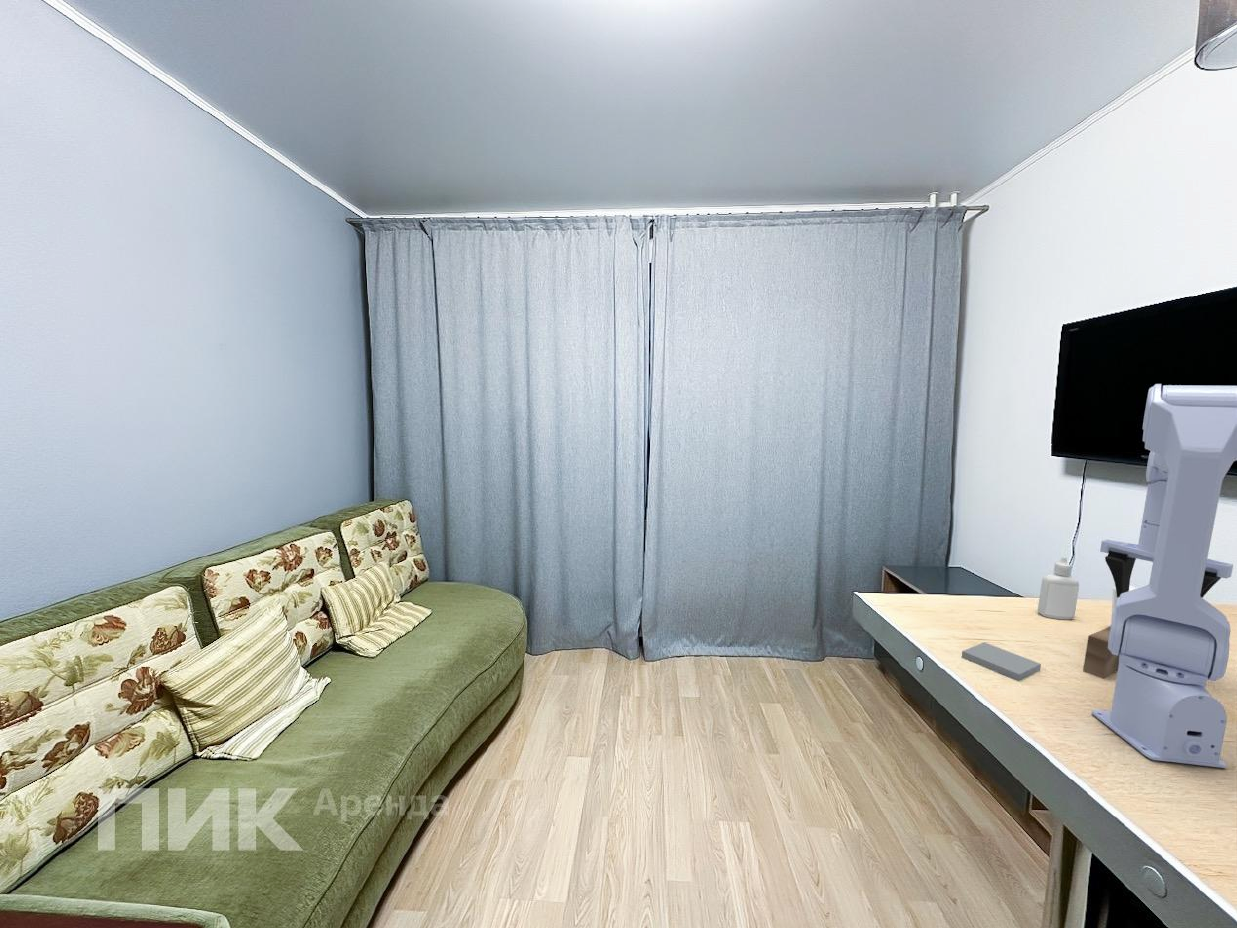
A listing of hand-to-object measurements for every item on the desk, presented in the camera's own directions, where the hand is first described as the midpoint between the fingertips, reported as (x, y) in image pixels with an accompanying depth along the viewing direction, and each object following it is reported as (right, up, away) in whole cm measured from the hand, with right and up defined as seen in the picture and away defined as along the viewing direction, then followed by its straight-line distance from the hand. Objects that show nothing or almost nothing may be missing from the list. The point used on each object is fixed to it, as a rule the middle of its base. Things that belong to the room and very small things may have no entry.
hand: (1153, 607), depth 84 cm
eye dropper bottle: (0, -7, +19) cm, 20 cm away
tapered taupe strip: (-7, -9, 0) cm, 12 cm away
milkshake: (+7, -8, +12) cm, 16 cm away
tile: (-22, -8, +1) cm, 24 cm away
